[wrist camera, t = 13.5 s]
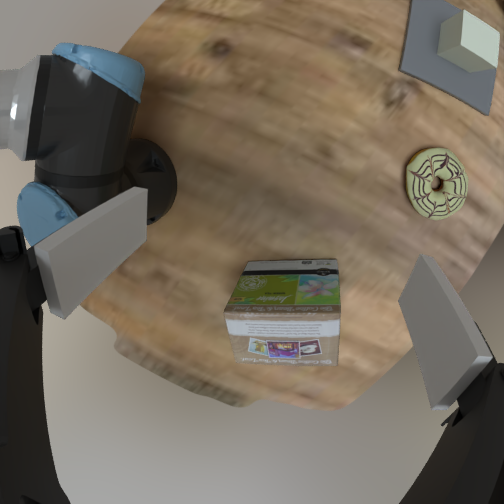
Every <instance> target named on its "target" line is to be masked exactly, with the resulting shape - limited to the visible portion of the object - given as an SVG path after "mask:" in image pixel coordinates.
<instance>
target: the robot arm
mask: <svg viewBox="0 0 504 504" xmlns="http://www.w3.org/2000/svg"><path fill="white" fill-rule="evenodd" d="M52 54H53V55H37V56H36V57H35V58H34V59H32V60H31V61H30V62H29V63H28V64H26V65H25V66H24V67H22V68H21V69H15V70H0V149H7V148H8V149H11V150H13V152H14V153H15V154H16V155H17V156H18V157H19V158H20V160H21V161H27V160H35V179H34V182H30V183H28V184H27V185H26V186H25V187H24V188H23V189H22V191H21V193H20V194H19V196H18V200H17V214H18V218H19V223H20V226H21V227H19V226H9V227H4V228H2V229H0V504H70V501H69V499H68V497H67V496H66V494H65V493H64V491H63V490H62V488H61V486H60V484H59V481H58V478H57V474H56V470H55V465H54V461H53V456H52V451H51V446H50V440H49V434H48V427H47V420H46V411H45V402H44V389H43V371H42V327H43V326H42V325H43V309H42V306H41V305H42V304H43V303H44V302H45V301H46V300H47V302H48V306H49V309H50V312H51V313H53V314H55V315H56V316H58V317H60V318H62V319H66V318H67V317H68V316H69V315H70V314H71V313H72V312H73V310H74V309H75V308H76V307H77V306H78V305H79V304H80V303H81V302H82V301H83V300H84V299H85V298H86V297H87V296H88V295H89V294H90V293H91V292H92V291H93V290H94V289H95V288H96V287H97V286H98V285H99V284H100V283H101V282H102V281H103V280H105V279H106V278H107V277H108V276H109V275H110V274H111V273H112V272H113V271H114V270H115V269H116V268H117V267H118V266H119V265H120V264H121V263H122V262H124V261H125V260H126V259H127V258H128V257H129V256H130V255H131V254H132V253H133V252H134V251H135V250H137V249H138V248H139V247H140V246H141V245H142V244H143V243H144V242H145V241H147V225H150V224H152V223H154V222H156V221H157V220H159V219H160V218H161V217H163V216H164V215H165V214H166V213H167V212H168V211H169V209H170V208H171V206H172V204H173V202H174V199H175V196H176V191H177V179H176V173H175V170H174V167H173V164H172V162H171V160H170V158H169V157H168V155H167V154H166V153H165V152H164V150H163V149H162V148H160V147H159V146H158V145H157V144H155V143H153V142H151V141H149V140H145V139H130V137H131V132H132V128H133V124H134V120H135V116H136V113H137V109H138V105H139V104H140V103H141V99H140V95H141V91H142V87H143V83H144V79H145V70H144V67H143V66H142V65H141V64H140V63H139V62H138V61H136V60H134V59H132V58H129V57H127V56H124V55H121V54H118V53H115V52H111V51H108V50H104V49H100V48H96V47H91V46H82V45H76V44H73V43H59V44H58V45H56V47H55V48H54V49H53V51H52ZM24 236H25V238H26V240H27V241H28V243H29V244H30V246H31V248H29V249H28V250H27V249H26V244H25V239H24ZM398 302H399V305H400V307H401V310H402V313H403V316H404V318H405V321H406V324H407V327H408V330H409V333H410V336H411V339H412V342H413V345H414V348H415V351H416V355H417V358H418V361H419V365H420V368H421V371H422V375H423V379H424V382H425V386H426V390H427V394H428V398H429V402H430V406H431V410H447V409H448V408H449V407H450V406H451V405H452V404H453V403H454V402H455V401H456V400H457V401H458V405H459V407H458V408H457V409H456V410H455V411H454V412H453V413H452V414H451V415H450V416H449V417H448V418H447V419H446V420H445V421H444V422H443V423H442V424H441V426H444V425H445V423H448V425H447V427H446V428H445V431H444V432H443V434H442V436H441V438H440V440H439V442H438V444H437V446H436V448H435V449H434V451H433V453H432V455H431V456H430V458H429V460H428V461H427V463H426V465H425V466H424V468H423V469H422V471H421V473H420V474H419V476H418V477H417V479H416V480H415V482H414V483H413V485H412V486H411V488H410V489H409V491H408V492H407V493H406V495H405V496H404V498H403V499H402V500H401V502H400V503H399V504H504V363H497V361H496V359H495V357H494V355H493V354H492V351H491V350H490V347H489V346H488V344H487V342H486V341H485V338H484V336H483V335H482V334H481V333H482V332H481V331H480V329H479V327H478V325H477V324H476V323H475V321H474V320H473V319H472V317H471V316H470V314H469V312H468V310H467V309H466V307H465V305H464V304H463V302H462V300H461V299H460V297H459V296H458V294H457V292H456V291H455V289H454V288H453V286H452V285H451V283H450V282H449V280H448V279H447V277H446V276H445V274H444V273H443V271H442V270H441V268H440V267H439V265H438V264H437V262H436V261H435V260H434V258H433V257H430V256H427V255H424V254H420V255H419V257H418V260H417V262H416V264H415V267H414V269H413V271H412V273H411V275H410V277H409V280H408V282H407V284H406V286H405V288H404V290H403V292H402V294H401V296H400V298H399V300H398Z"/></svg>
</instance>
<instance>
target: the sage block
mask: <svg viewBox="0 0 504 504" xmlns="http://www.w3.org/2000/svg"><path fill="white" fill-rule="evenodd" d="M499 36H500V33H499V32H498V31H496V30H495V29H493V28H492V27H490V26H489V25H488V24H486V23H485V22H483V21H482V20H480V19H478V18H477V17H475V16H474V15H472V14H470V13H469V12H467V11H465V10H462V11H460V12H459V13H457V14H455V15H454V16H452V17H451V18H449V19H447V20H446V21H444V22H443V23H441V30H440V38H439V45H438V51H437V55H439V56H440V57H442V58H444V59H446V60H448V61H450V62H452V63H454V64H455V65H457V66H459V67H461V68H462V69H464V70H466V71H467V72H469V73H471V72H477V71H483V70H489V69H495V68H497V63H498V52H499Z"/></svg>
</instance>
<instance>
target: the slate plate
mask: <svg viewBox="0 0 504 504" xmlns="http://www.w3.org/2000/svg"><path fill="white" fill-rule="evenodd" d="M460 11H462V10H460V9H458V8H457V7H455V6H453V5H451V4H449V3H447V2H446V1H444V0H411V1H410V9H409V16H408V22H407V29H406V34H405V40H404V46H403V51H402V56H401V61H400V66H399V71H400V72H403V73H405V74H407V75H410V76H412V77H414V78H417V79H419V80H421V81H423V82H425V83H427V84H429V85H431V86H433V87H436V88H438V89H439V90H441V91H443V92H445V93H447V94H449V95H451V96H453V97H455V98H456V99H458V100H460V101H462V102H464V103H465V104H467V105H469V106H470V107H472V108H474V109H475V110H477V111H479V112H480V113H482V114H483V115H486V116H489V111H490V106H491V101H492V95H493V89H494V83H495V75H496V68H495V69H489V70H483V71H477V72H471V73H469V72H467V71H466V70H464V69H462V68H461V67H459V66H457V65H455V64H454V63H452V62H450V61H448V60H446V59H444V58H442V57H440V56H439V55H437V51H438V45H439V38H440V30H441V23H443V22H444V21H446V20H447V19H449V18H451V17H452V16H454V15H455V14H457V13H459V12H460Z"/></svg>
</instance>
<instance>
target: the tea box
mask: <svg viewBox="0 0 504 504" xmlns="http://www.w3.org/2000/svg"><path fill="white" fill-rule="evenodd" d="M340 314H341V304H340V287H339V272H338V264H337V260H295V261H287V260H283V261H252V262H248V264H247V266H246V267H245V269H244V271H243V273H242V275H241V277H240V279H239V281H238V283H237V286H236V288H235V290H234V292H233V294H232V296H231V297H230V299H229V302H228V304H227V306H226V308H225V310H224V317H225V321H226V325H227V329H228V333H229V337H230V341H231V345H232V349H233V353H234V357H235V361H236V363H247V364H264V365H292V366H337V365H338V354H339V339H340Z"/></svg>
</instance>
